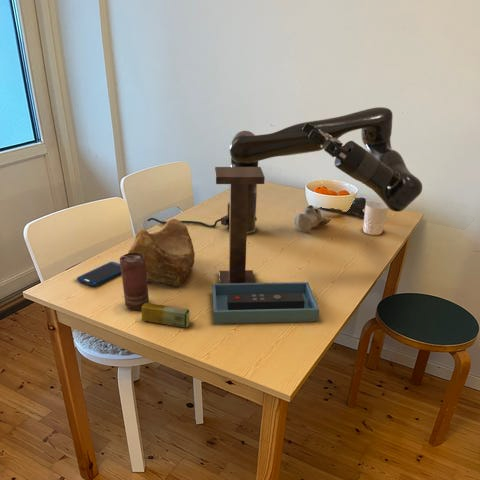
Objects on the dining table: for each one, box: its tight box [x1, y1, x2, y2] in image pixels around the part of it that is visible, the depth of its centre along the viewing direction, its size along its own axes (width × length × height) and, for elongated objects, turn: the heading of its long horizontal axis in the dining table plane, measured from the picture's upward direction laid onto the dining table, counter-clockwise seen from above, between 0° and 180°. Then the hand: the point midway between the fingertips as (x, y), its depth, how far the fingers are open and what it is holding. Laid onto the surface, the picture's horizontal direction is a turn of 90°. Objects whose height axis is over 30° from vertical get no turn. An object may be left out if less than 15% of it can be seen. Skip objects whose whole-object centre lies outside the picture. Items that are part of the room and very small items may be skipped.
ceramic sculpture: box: [294, 204, 332, 233], centre depth 173 cm, size 11×9×15 cm
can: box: [119, 252, 150, 311], centre depth 124 cm, size 6×6×14 cm
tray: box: [211, 281, 320, 325], centre depth 127 cm, size 27×15×4 cm, turn 95°
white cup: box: [362, 200, 389, 236], centre depth 171 cm, size 8×8×10 cm
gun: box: [345, 197, 367, 220], centre depth 188 cm, size 4×20×10 cm, turn 56°
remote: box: [227, 293, 305, 310], centre depth 127 cm, size 20×4×3 cm, turn 95°
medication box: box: [141, 302, 191, 329], centre depth 119 cm, size 12×3×4 cm, turn 77°
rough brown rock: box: [127, 218, 196, 287], centre depth 137 cm, size 23×17×15 cm
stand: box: [214, 166, 266, 284], centre depth 130 cm, size 12×10×32 cm
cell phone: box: [76, 261, 122, 288], centre depth 141 cm, size 7×14×1 cm, turn 146°
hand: (307, 129), depth 121 cm, fingers open, 8 cm apart
